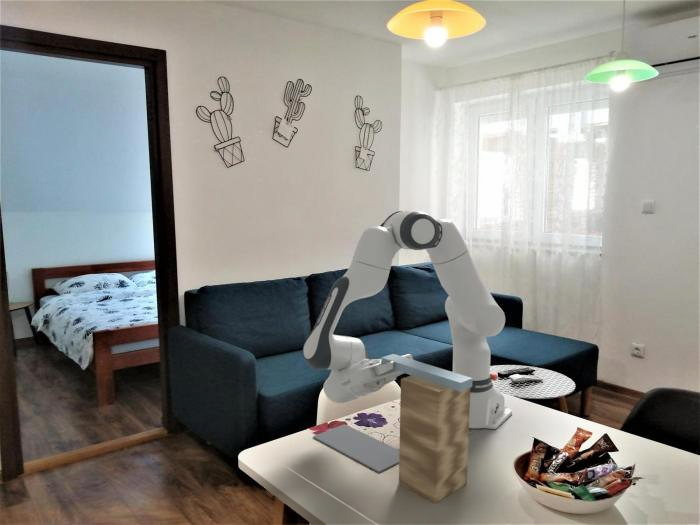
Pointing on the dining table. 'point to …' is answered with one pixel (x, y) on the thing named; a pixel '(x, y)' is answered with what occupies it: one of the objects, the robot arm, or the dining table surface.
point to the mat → (360, 447)
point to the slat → (429, 372)
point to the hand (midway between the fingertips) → (401, 362)
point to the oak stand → (433, 438)
